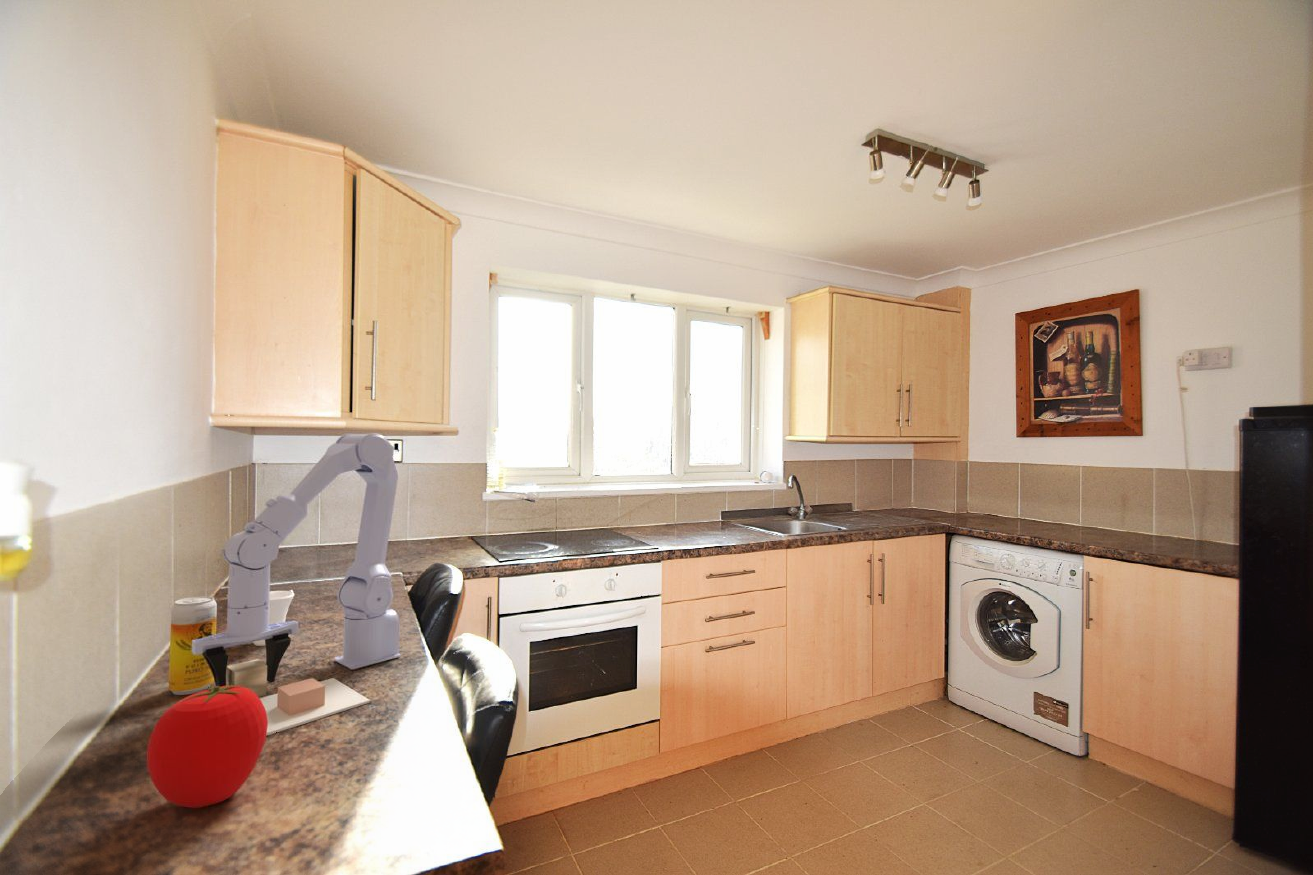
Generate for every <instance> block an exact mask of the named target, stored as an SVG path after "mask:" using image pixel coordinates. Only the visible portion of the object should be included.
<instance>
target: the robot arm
mask: <svg viewBox="0 0 1313 875" xmlns="http://www.w3.org/2000/svg"><path fill="white" fill-rule="evenodd" d="M394 451H395V446H393V444H391V443H390V441H389V440H388V439H387V438H386V437H385V436H384V435H382V434H380V433H374V432H373V433H361V434H360V433H359V434H358V433H346V434H345V433H344V434H343V435H340V437H339V438H337V440H336V441H335V442H334V443H332V444H331V445H329V446H328V447H327V449H326V451H325V453H324V455H323V456H322V457H321V458H320V459H319V460H318V461H317V463H316V464H315V465H314V466H313V467H312V468H311V469H310V471H309V472H308V473H307V474H306V475H305V476H304V477H303V478H302V480H301V481H300V482H299V483H298V484H297V486H295V488H293V490H292V491H291V492H290V493H288V494H282V495H277V496H276V497H275V498H269V499H268V500H267V501H266V502H265V505H266V508H265V509H264V510H263V511H261V512H260V513H259V515H257V517H255V518H254V519H253V521H251V522H247V523H246V524H245V525H244V526H243V529H244V531H241V532H237V533H235V534H234V535H232V536H231V537H230V538H228V540H227V542H226V544H225V547H224V548H222V550H221V554H222V557H223V559H224V560H225V561H226V562H227V563H228V580H227V612H226V613H227V614H226V619H227V620H226V631H223V632H220V633H216V635H212V636H209V637H205V638H201V639H196V640H192V653H193V654H194V655H199V654H202V655H203V656H204V658H205V660H206V662H207V663H208V665H209V667H210V669H211V672H212V674H213V677H214V684H215V686H219V687H222V686H226V669H227V666H228V661H229V655H228V654H227V653H226V649H225V648H231V647H236V646H239V645H245V644H249V643H253V642H255V641H260V640H264V639H265V645H266V646H265V658H266V660H265V662H266V663H265V664H266V665H267V683H270V684H271V683H275V680H276V675H277V672H278V669H279V667H280V664H281V662H282V659H283V656H284V655H285V653H286V652H287V650H288V648H289V646H290V644H291V640H292V639H291V637H290V636H289V635H291V636H292V635H297V634H299V621H296V620H289V621H285V622H282V623H273V624H269V597H270V591H271V590H270V589H271V563H272V562H273V561H275V560H276V559H277V557H278V554H279V551H280V548H279V547H280V545H281V544H282V543H283V542H284V540H286V539H287V537H288V536H289V535H290V534H292V532H293V531H294V530H295V529H296V528H297V527H298V526H299V525H300V524H301V523H302V521H304V519H305V518H306V517H308V505H309V504H310V503H311V502H312V501H313V500H314V499H315V498H317V496H318V495H319V494H320V493H321V492H323V491H324V490H325V489H326V488H327V487H328V486H329V485H330V484H331V483H332V482H333V481H334V480H336V479H337V478H338V476H339V475H341V474H343V473H347V472H352V471H353V472H354V471H355V472H356V473H357V474H358V475H359V476H360V477H361V479H363V481H364V482H366V486H365V487H366V488H365V492H364V494H365V495H364V500H363V505H362V512H361V517H360V518H361V519H360V523H359V524H360V525H359V531H358V537H357V542H356V549H355V557H354V561H353V563H352V565H350V567H349V568H347V570H346V571H345V575H344V578H343V581H342V582H341V585H339V588H338V591H337V595H336V596H337V601H338V603H339V605H340V606H341V607H343V638H342V640H343V641H342V642H343V643H342V644H343V645H342V655H340V656H335V657H334V658H333V660H334V661H335V662H337V663H339V664H340V665H342V666H344V667H346V668H347V669H349V670H356V669H360V668H363V667H368V666H370V665H375V664H379V663H382V662H386V661H388V660H389V661H390V660H393V659H396V658H400V657H401V653H399V652H400V646H399V645H400V619H399V615H398V613H397V612H396V611H395V610H394V609H393V608H390V607H391V605H392V602H393V600H394V591H393V588H392V575H391V573H390V571H389V569H388V567H387V566H386V560H387V558H386V557H387V551H388V546H389V538H390V532H391V524H392V520H393V513H394V505H395V499H396V493H397V488H398V487H397V486H398V478H399V476H398V470H397V467H396V464H395V460H394ZM389 608H390V609H389Z"/></svg>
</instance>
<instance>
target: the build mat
mask: <svg viewBox="0 0 1313 875" xmlns="http://www.w3.org/2000/svg"><path fill="white" fill-rule="evenodd" d="M319 682H320V683H321V684H323V685H324V686H325V705H323V706H320V707H317V708H313V709H310V710H307V711H304V712H300V713H297V714H294V715H291V716H289V715H287V714H286V713H285V712H284V711H282V710H281V709H280V708H279V707H277V698H278V692H277V693H275V694H270V695H265V696H262V697H259V698H260V700H261V702H262V704H263V706H264V708H265V710H266V714H267V720H268V727H267V734H266V737H267V736H271V735H273V734H277V733H279V732H283V731H285V730H289V729H292V728H295V727H299V726H301V725H304V724H308V723H310V722H313V721H317V720H320V719H322V718H326V717H327V718H328V717H330V716H333V715H336V714H339V713H342V712H344V711H348V710H352V709H354V708H357V707H360V706H363V705H366V704H369V703H370V702H371V700H370V699H369V698H367V697H365V696H364V695H362V694H361V693H359V692H357V691H356V690H354V689H352V688H350V686H347V685H345V684H344V683H342V682H340V681H339V680H337V679H336V678H334V677H332V678H329V679H325V680H321V681H319ZM276 732H277V733H276Z"/></svg>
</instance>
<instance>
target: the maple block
mask: <svg viewBox="0 0 1313 875" xmlns="http://www.w3.org/2000/svg"><path fill="white" fill-rule="evenodd" d="M243 683H244V684H243ZM238 684H241V685H238ZM229 685H237V686H240V687H244V688H248V689H250V690H252V691H253V692H254V693H255V694H256V695H257V696H258V697H259V698H262V697H266V696H267V691H268V690H267V686H268V681H267V665H266V663H264V662H263V661H262V660H261V659H259V658H255V659H251V660H247V661H243V662H239V663H238V662H237V663H234V664H230V665H227V669H226V686H229ZM261 696H262V697H261Z"/></svg>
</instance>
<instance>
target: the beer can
mask: <svg viewBox="0 0 1313 875" xmlns="http://www.w3.org/2000/svg"><path fill="white" fill-rule="evenodd" d="M217 607H218V604H217V602H216V600H215V597H214V596H210V595H209V596H208V595H203V596H202V595H200V596H192V597H191V596H190V597H183V598H181V599H177V600H175V601H174V604H173V605H172V608H171V610H170V612H171V613H170V634H169V635H170V640H169V665H168V667H169V669H168V690H169V691H171V692H172V694H174V695H178V696H179V695H180V696H183V695H185V696H186V695H192V694H195V693H198V692H201V691H204V690H208V686H209V687H211V686H212V684H213V683H214V682H215V680H214V677H213V674H212V672H211V669H210V667H209V665H208V663H207V662H206V660H205V658H204V656H203V655H202V654H199V655H194V654H193V653H192V640H196V639H201V638H205V637H209V636H212V635H216V634H217V613H218V612H217V611H218V608H217Z"/></svg>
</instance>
